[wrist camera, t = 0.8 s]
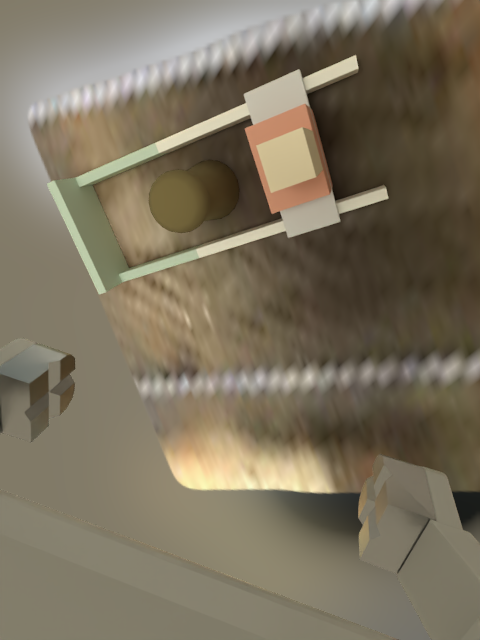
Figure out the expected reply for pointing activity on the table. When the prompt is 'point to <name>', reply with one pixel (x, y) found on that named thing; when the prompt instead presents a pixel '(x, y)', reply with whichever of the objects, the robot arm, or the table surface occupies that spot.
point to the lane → (79, 193)
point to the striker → (290, 155)
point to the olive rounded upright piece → (193, 196)
